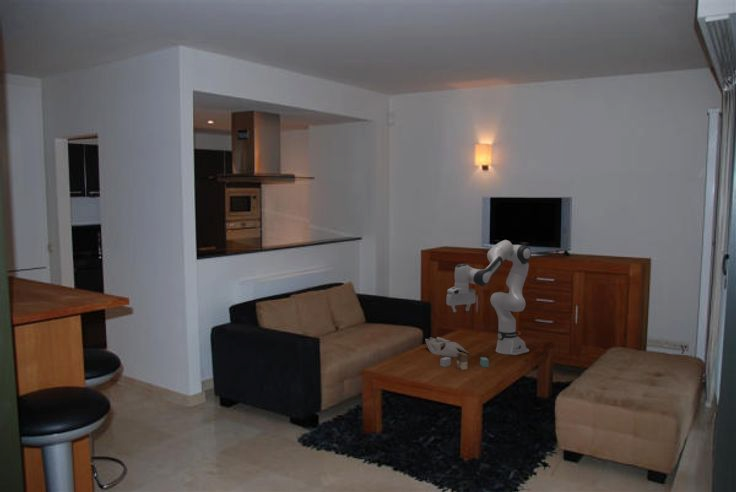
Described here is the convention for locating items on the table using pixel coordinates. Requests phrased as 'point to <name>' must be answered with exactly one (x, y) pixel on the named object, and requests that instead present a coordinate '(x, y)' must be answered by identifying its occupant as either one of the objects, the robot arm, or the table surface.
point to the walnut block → (462, 357)
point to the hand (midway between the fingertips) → (461, 311)
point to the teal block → (484, 362)
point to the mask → (449, 349)
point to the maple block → (462, 365)
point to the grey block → (445, 361)
